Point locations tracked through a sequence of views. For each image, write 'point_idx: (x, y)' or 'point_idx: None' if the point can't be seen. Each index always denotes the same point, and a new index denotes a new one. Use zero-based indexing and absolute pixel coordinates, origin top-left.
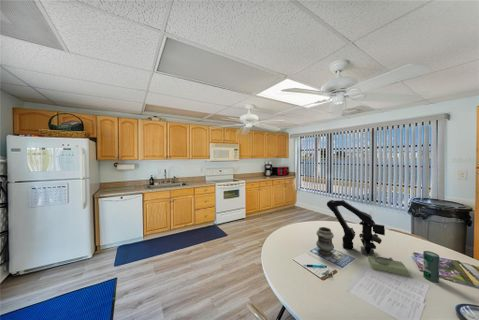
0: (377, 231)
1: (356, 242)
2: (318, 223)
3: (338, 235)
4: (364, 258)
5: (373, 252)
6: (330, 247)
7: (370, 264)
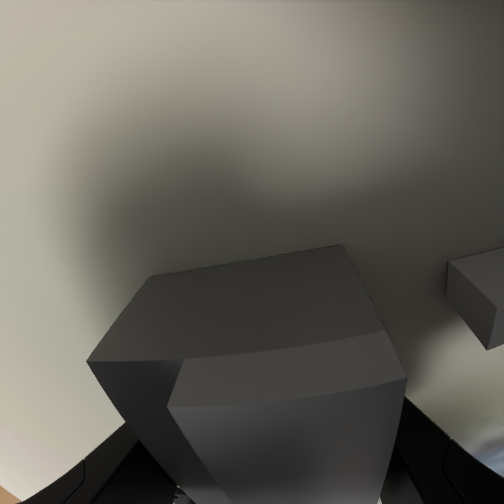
0: None
1: (7, 407)
2: (10, 490)
3: (36, 478)
4: (490, 380)
5: (372, 310)
6: None
7: None
